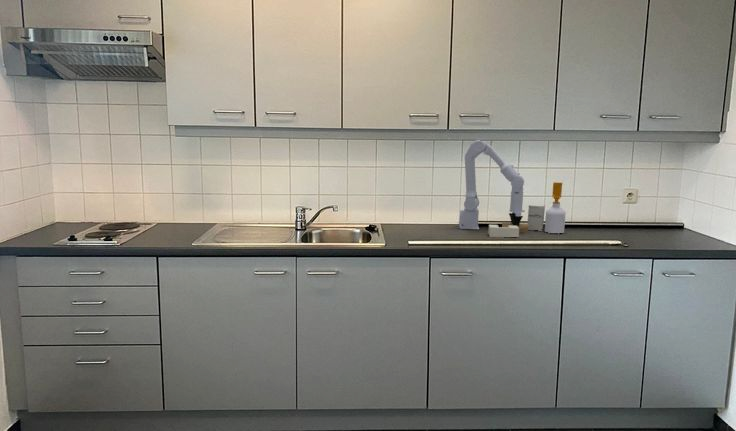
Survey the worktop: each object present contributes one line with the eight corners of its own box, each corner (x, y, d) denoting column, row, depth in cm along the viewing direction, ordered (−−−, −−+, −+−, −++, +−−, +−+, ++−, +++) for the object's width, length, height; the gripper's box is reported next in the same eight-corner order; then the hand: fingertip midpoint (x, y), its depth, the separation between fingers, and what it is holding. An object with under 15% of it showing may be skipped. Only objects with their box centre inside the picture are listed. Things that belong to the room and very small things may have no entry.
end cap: (489, 236, 254) (490, 227, 253) (488, 233, 261) (488, 224, 261) (518, 238, 253) (519, 228, 252) (516, 235, 260) (516, 225, 259)
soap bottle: (544, 233, 265) (548, 182, 261) (544, 230, 273) (548, 180, 270) (564, 234, 262) (568, 183, 258) (563, 231, 271) (567, 181, 267)
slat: (527, 233, 266) (528, 225, 266) (502, 232, 268) (502, 224, 267) (526, 231, 270) (527, 223, 269) (501, 230, 271) (502, 222, 270)
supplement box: (526, 230, 273) (528, 205, 271) (528, 227, 279) (529, 203, 277) (542, 231, 270) (543, 206, 268) (543, 229, 277) (545, 204, 275)
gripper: (527, 203, 259) (525, 231, 261) (522, 199, 273) (521, 226, 275) (512, 202, 259) (510, 231, 262) (508, 198, 274) (506, 225, 276)
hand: (514, 228), depth 268 cm, fingers open, 4 cm apart
